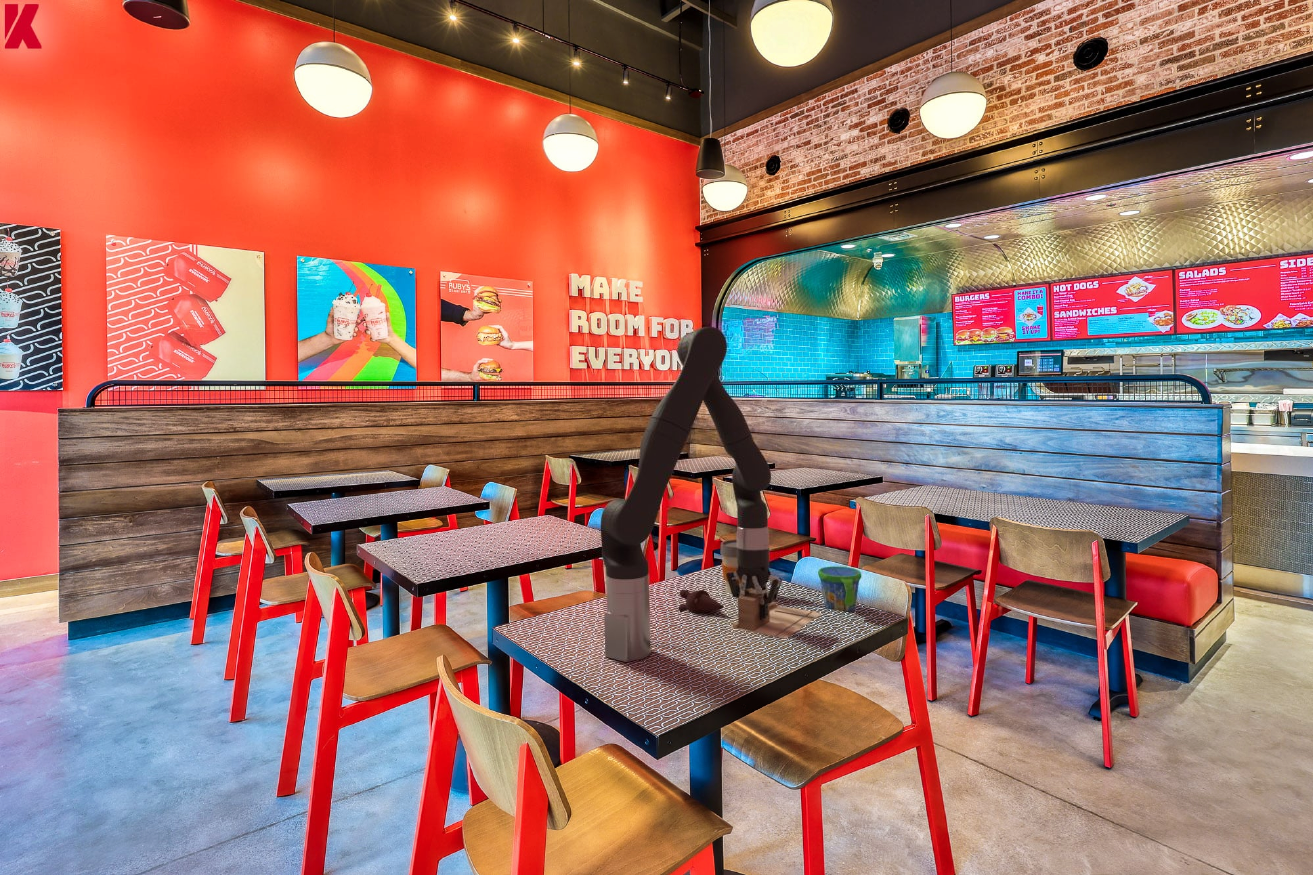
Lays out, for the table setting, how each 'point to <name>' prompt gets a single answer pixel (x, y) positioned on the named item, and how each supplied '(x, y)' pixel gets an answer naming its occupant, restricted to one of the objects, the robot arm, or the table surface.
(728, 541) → the reusable coffee cup
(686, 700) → the table surface
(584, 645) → the table surface
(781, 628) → the board
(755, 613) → the block
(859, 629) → the table surface
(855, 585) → the snack cup
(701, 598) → the icecream
